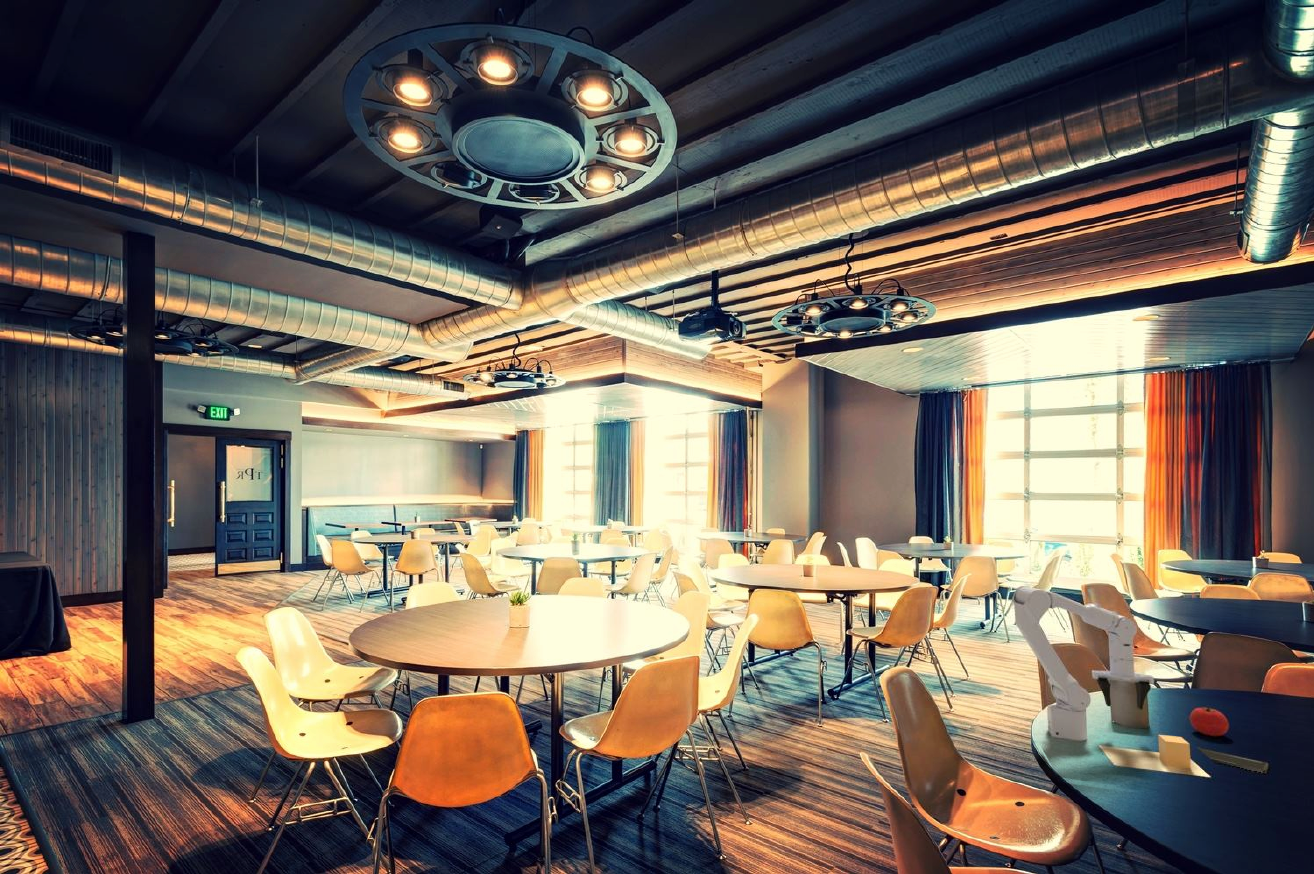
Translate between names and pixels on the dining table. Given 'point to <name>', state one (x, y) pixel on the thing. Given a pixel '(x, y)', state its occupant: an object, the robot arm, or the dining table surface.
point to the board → (1147, 761)
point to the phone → (1236, 760)
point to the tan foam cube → (1174, 751)
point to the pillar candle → (1127, 705)
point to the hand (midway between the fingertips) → (1123, 706)
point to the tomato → (1209, 721)
